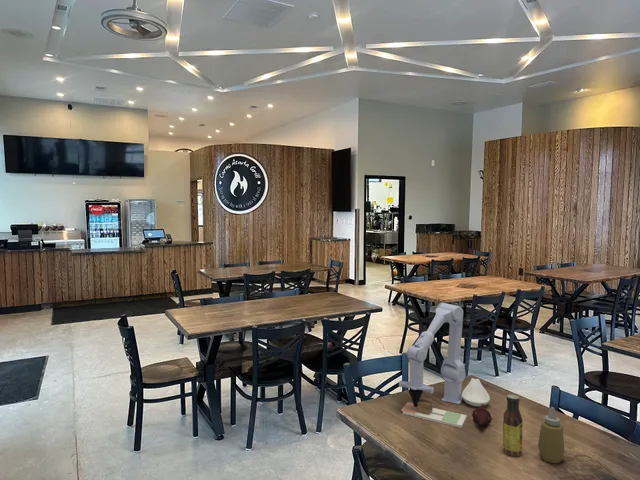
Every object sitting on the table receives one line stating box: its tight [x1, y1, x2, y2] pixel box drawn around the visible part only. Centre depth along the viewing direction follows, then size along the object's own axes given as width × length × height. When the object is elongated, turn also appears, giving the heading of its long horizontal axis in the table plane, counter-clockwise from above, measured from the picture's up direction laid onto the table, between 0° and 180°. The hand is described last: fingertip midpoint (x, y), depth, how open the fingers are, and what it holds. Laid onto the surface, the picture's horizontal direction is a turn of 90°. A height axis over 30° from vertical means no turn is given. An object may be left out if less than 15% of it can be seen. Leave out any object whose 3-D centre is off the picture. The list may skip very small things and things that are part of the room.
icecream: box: [471, 404, 493, 427], centre depth 171 cm, size 7×7×15 cm
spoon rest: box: [462, 377, 491, 408], centre depth 196 cm, size 24×12×7 cm, turn 163°
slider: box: [418, 397, 434, 414], centre depth 181 cm, size 5×5×4 cm
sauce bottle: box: [502, 394, 524, 457], centre depth 151 cm, size 7×6×20 cm
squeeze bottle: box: [537, 406, 566, 464], centre depth 147 cm, size 8×8×18 cm
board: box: [400, 401, 467, 429], centre depth 179 cm, size 10×25×1 cm, turn 61°
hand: (415, 406), depth 183 cm, fingers closed
